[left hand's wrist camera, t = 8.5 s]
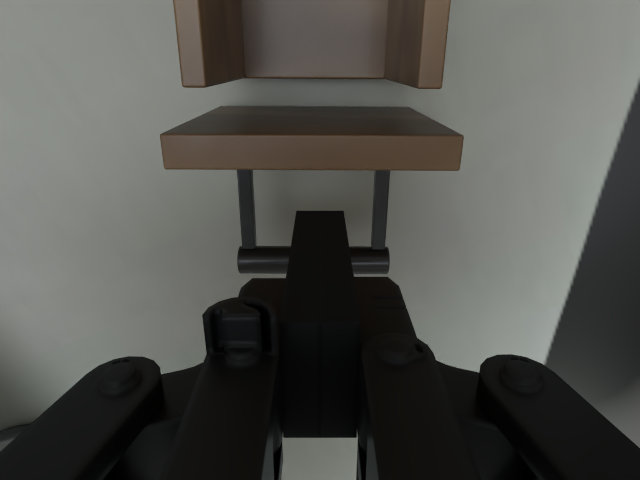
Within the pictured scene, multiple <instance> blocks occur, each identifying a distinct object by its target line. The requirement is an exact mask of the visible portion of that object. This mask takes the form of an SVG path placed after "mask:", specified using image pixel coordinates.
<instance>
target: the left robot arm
mask: <svg viewBox="0 0 640 480" xmlns="http://www.w3.org/2000/svg"><path fill="white" fill-rule="evenodd" d="M202 316H203V325H204V333H205V342H206V351H207V354H206V357H205V360H204V362H203V363H201V364H199V365H197V366H195V367H191V368H188V369H184V370H180V371H176V372H171V373H166V374H161V372H160V367H159V366H158V365H157V364H156V363H155V361H154V360H151V359H148V358H145V357H130V356H129V357H123V358H118V359H114V360H111V361H109V362H107V363H104V364H102V365H99V366H98V367H96V368H95V369H93V370H92V371H90V372H89V373H87V374H86V375H85V376H84V377H83V378H82V379H81V380H79V381H78V382H77V383H76V384H75V385H74V386H73V387H72V388H71V389H69V390H68V391H67V392H66V393H65V394H64V395H63V396H62V397H60V398H59V399H58V400H57V401H56V402H55V403H54V404H53V405H52V406H50V407H49V408H48V409H47V410H46V411H45V412H44V413H43V414H42V415H40V416H39V417H38V418H37V419H36V420H35V421H34V422H33V423H31V424H30V425H24V426H18V427H14V428H10V429H7V430H4V431H1V432H0V480H281V475H282V464H283V452H282V435H283V437H284V438H356V437H357V433H358V452H357V475H356V480H640V448H639V447H638V446H637V445H635V444H634V443H633V442H632V441H631V440H630V439H629V438H628V437H626V436H625V435H624V434H623V433H622V432H621V431H620V430H618V429H617V428H616V427H615V426H614V425H613V424H612V423H611V422H610V421H608V420H607V419H606V418H605V417H604V416H603V415H602V414H601V413H599V412H598V411H597V410H596V409H595V408H594V407H593V406H592V405H590V404H589V403H588V402H587V401H586V400H585V399H584V398H583V397H581V396H580V395H579V394H578V393H577V392H576V391H575V390H573V389H572V388H571V387H570V386H569V385H568V384H567V383H566V382H565V381H563V380H562V379H561V378H560V377H559V376H558V375H557V374H556V373H554V372H553V371H552V370H550V369H549V368H547V367H546V366H544V365H543V364H541V363H539V362H536V361H534V360H532V359H529V358H527V357H522V356H518V355H496V356H493V357H490V358H487V359H486V360H485V361H484V362H483V363H482V364H481V366H480V372H479V373H478V372H474V371H469V370H464V369H459V368H455V367H452V366H448V365H445V364H443V363H441V362H439V361H436V359H435V356H434V354H433V352H432V351H431V349H430V348H429V346H428V345H427V344H425V343H424V342H422V341H421V340H419V339H418V338H417V336H416V334H415V331H414V328H413V325H412V322H411V319H410V316H409V314H408V311H407V309H406V305H405V302H404V299H403V297H402V294H401V291H400V288H399V286H398V285H397V284H396V283H394V282H393V281H392V280H391V279H390V278H388V277H354V275H353V269H352V262H351V256H350V250H349V243H348V237H347V230H346V224H345V218H344V211H296V218H295V224H294V230H293V237H292V243H291V250H290V256H289V262H288V269H287V275H286V278H252V279H251V280H250V281H249V282H247V283H246V284H245V285H244V286H243V287H241V290H240V293H239V295H238V297H236V298H230V299H226V300H223V301H220V302H217V303H216V304H214V305H212V306H210V307H209V308H208V309H207V310H206V311H205V312H204V314H203V315H202Z"/></svg>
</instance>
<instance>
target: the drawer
mask: <svg viewBox="0 0 640 480" xmlns="http://www.w3.org/2000/svg"><path fill="white" fill-rule="evenodd" d="M450 1H451V0H173V3H174V13H175V22H176V32H177V41H178V51H179V60H180V70H181V79H182V86H183V87H198V88H205V87H209V86H213V85H217V84H222V83H226V82H230V81H234V80H238V79H243V78H307V79H387V80H390V81H394V82H397V83H401V84H404V85H408V86H411V87H415V88H418V89H440V88H441V87H442V80H443V70H444V60H445V50H446V41H447V31H448V21H449V11H450ZM463 139H464V137H463V135H461V134H459V133H457V132H455V131H453V130H451V129H450V128H448V127H446V126H444V125H442V124H440V123H438V122H436V121H434V120H432V119H431V118H429V117H427V116H425V115H423V114H421V113H419V112H417V111H415V110H413V109H412V108H410V107H271V106H220V107H218V108H216V109H214V110H211V111H209V112H207V113H205V114H203V115H201V116H199V117H196V118H194V119H192V120H190V121H188V122H186V123H183V124H181V125H179V126H177V127H175V128H173V129H171V130H168V131H166V132H164V133H162V134H160V140H161V147H162V155H163V163H164V168H165V169H214V170H237V176H238V191H239V206H240V221H241V236H242V246H240V247H239V250H238V258H237V263H238V271H239V273H271V274H287V269H288V262H289V256H290V250H291V246H256V244H257V243H256V224H255V205H254V186H253V170H375V174H374V193H373V212H372V232H371V246H349V250H350V256H351V262H352V269H353V274H387V273H388V271H389V262H390V259H389V249H388V247H385V240H386V224H387V209H388V193H389V178H390V170H423V171H458V170H459V169H460V163H461V155H462V147H463Z"/></svg>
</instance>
